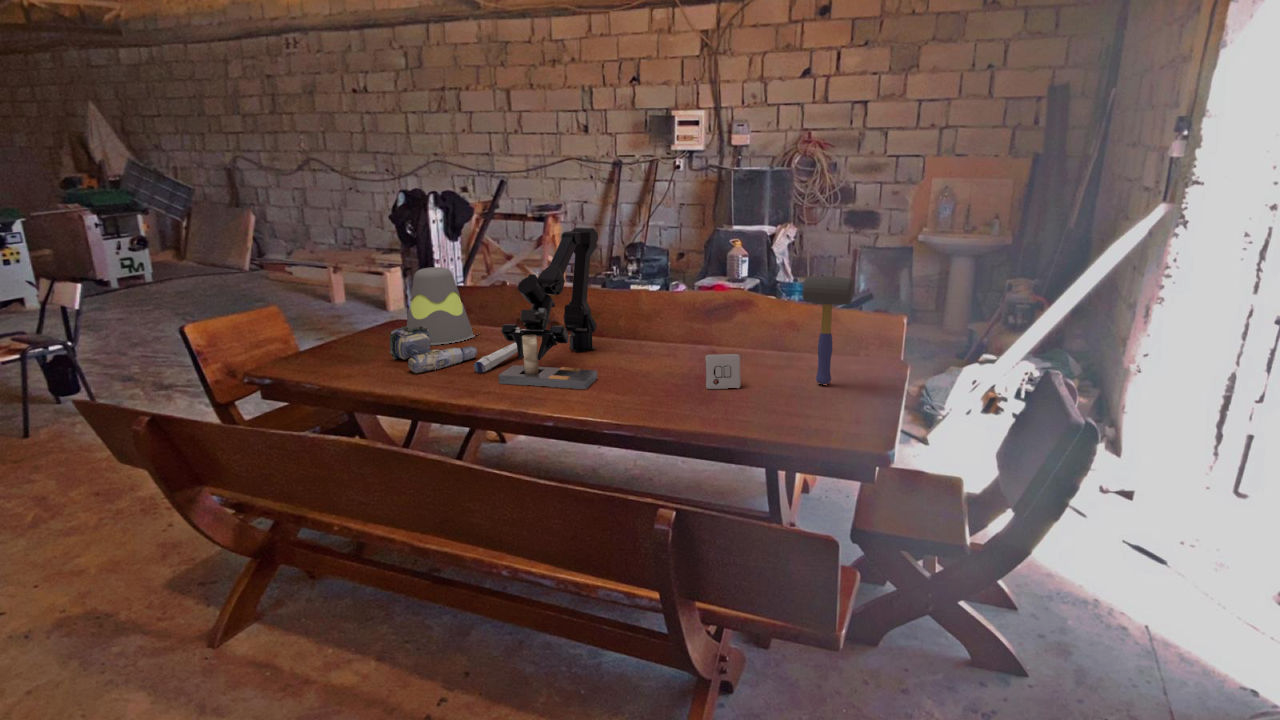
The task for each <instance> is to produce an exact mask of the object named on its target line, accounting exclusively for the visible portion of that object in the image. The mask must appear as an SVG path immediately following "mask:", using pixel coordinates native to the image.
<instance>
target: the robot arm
mask: <svg viewBox="0 0 1280 720" xmlns="http://www.w3.org/2000/svg"><path fill="white" fill-rule="evenodd" d="M598 240H599V234H598V232H597V231H596V229H595V228H593V227H574V228H573V229H572V230H568V231H567V230H566V231H564V232H562V233H561V240H560V241H559V244H558V246H557V248H556V251H555V253H554V255H553V257H552V259H551V262H550V263H549V265H548V267H546V268H545V269H543V270H542V271H541V272H540V273H539V275H538V276H537V275H536V274H531V273H529V274H528V276H527V277H524V278H523V279H521V281H520V282H519V283H518V285H517V291H518V292H519V293H520V294H521V295H522V296H523V298H524V299H525V300H526V302H527V303H528V304H531V308H530V309H521V310H520V318H519V319H520V320H519V321H520V322H523V324H522V325H523V326H524V327H526V328H522V327H519V326H518V325H517V324H516V323H514V324H513V323H505V324H503V325H502V326H501V330H500V332H501V334H502V335H503V337H504V339H505V340H506V341H508V342H514V343H515V342H516V343H517V350H518V352H517V358H518V360H519V361H520V360H522V358H523V357H522V356H523V342H522V336H523V335H528V334H533V335H536V336H537V338H538V337H541V343H540V346H539V351H538V361H541V359H543V358H544V356H545V355H546V354H547V353H548V352H549V351H550V349H552V348H553V347H554V346H557V345H558V344H567V343H569V349H570V350H572V351H574V352H575V353H582V352H587V351H589V352H590V351H594V350H596V347H594V345H593V333H596V330H597V322H596V321H595V319H594V318H593V317H592V309H591V307H590V304H589V302H588V293H589V292H588V289H589V276H590V264H591V256H592V255H593V253H594V252H595V251H596V249H597V246H598V245H597V244H598ZM573 254H574V263H573V265H574V266H573V275H572V276H573V277H572V278H573V279H572V290H571V300H570V301H569V302H568V304H565V305H564V314H563V322H564V325H554V324H553V325H551V326H550V328H549V329H547V328H548V324H549V325H550V321H551V320H550V316H551V315H550V314H551V310H552V308H555V307H556V304H555V302H554V299H553V298H552V297H551V296H559V295H561V293H562V292H563V290H564V286H565V283H566V279H565V273H566V270H567V268H568V266H569V264H570V261H571V259H572V257H573ZM569 332H570V335H569V334H568V333H569Z"/></svg>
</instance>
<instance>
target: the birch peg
mask: <svg viewBox="0 0 1280 720" xmlns="http://www.w3.org/2000/svg"><path fill="white" fill-rule="evenodd" d="M537 338H538V337H537V336H536V335H533V334H528V335H523V336H522V342H523V356H524V357H523V366H524V371H525V374H527V375H538V374H539V368H538V367H539V360H538V353H539V351H538V339H537Z"/></svg>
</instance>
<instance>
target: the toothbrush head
mask: <svg viewBox="0 0 1280 720" xmlns="http://www.w3.org/2000/svg"><path fill="white" fill-rule="evenodd" d="M516 354H518V350H517V343H516V342H515V341H514V342H513V343H511V344H509V345H507V346H505V347H503V348H501V349H498V350H496V351H494V352H491V353H490V354H489V355H488V354H487V355H485V356H481V358H480V359H478V360H477V361H475V362H474V364H473V369H474V371H475V372H476V373H478V372H479V374H484V373H485V372H488V371H491V370H492V368H494V367H496V366H497V365H499V364H501V363H503V362H504V361H506V360H507V359H509V358H510V357H512V356H514V355H516ZM522 358H524V357H523V356H522Z"/></svg>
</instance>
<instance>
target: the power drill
mask: <svg viewBox="0 0 1280 720" xmlns="http://www.w3.org/2000/svg"><path fill="white" fill-rule="evenodd" d="M428 330H429V329H427V327H426V326H423V327H421V326H420V327H417V326H416V327H415V328H414V329H410V328H408V327H407V325H406V326H405V325H403V326H402V327H401V328H400V327H399V328H395V329H393V330H392V331H391V332H390V336H389V338H388V339H389V350H390V351H389V354H390V355H391V356H392V360H393V361H395V360H399V359H402V360H407V366H408V368H409V370H411V371H412V373H413V372H414V374H421V373H424V372H429V371H437V370H441V368H447V367H450V365H451V366H454V365H456V364H457V363H458V364H460V363H462V362H463V361H468V360H473V359H474V358H475V357H477V355H478V350H477V348H476V346H472V345H469V346H464V347H453V348H445V349H443V350H439V349H438V348H437V349H431V346H432V345H431V339H430V335H429V333H428ZM398 358H399V359H398ZM453 364H454V365H453ZM458 364H457V365H458ZM436 369H437V370H436Z"/></svg>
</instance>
